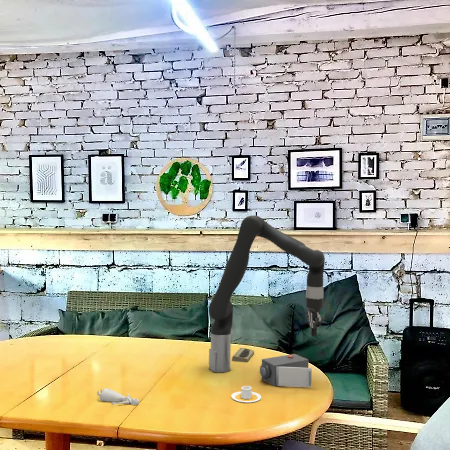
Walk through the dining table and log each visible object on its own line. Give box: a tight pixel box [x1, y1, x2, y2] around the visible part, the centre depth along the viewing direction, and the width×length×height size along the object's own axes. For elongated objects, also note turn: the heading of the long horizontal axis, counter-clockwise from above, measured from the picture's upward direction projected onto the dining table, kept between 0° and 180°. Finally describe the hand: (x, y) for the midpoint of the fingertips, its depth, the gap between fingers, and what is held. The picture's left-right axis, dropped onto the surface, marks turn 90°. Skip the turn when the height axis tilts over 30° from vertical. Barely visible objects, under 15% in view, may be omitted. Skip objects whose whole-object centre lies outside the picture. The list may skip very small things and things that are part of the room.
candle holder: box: [231, 385, 262, 403], centre depth 202 cm, size 12×12×4 cm
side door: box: [275, 366, 313, 388], centre depth 213 cm, size 15×2×8 cm, turn 84°
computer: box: [231, 347, 255, 363], centre depth 256 cm, size 16×8×3 cm, turn 165°
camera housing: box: [259, 353, 309, 387], centre depth 222 cm, size 20×10×10 cm, turn 119°
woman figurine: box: [96, 387, 140, 406], centre depth 197 cm, size 12×4×18 cm
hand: (313, 335), depth 219 cm, fingers closed
